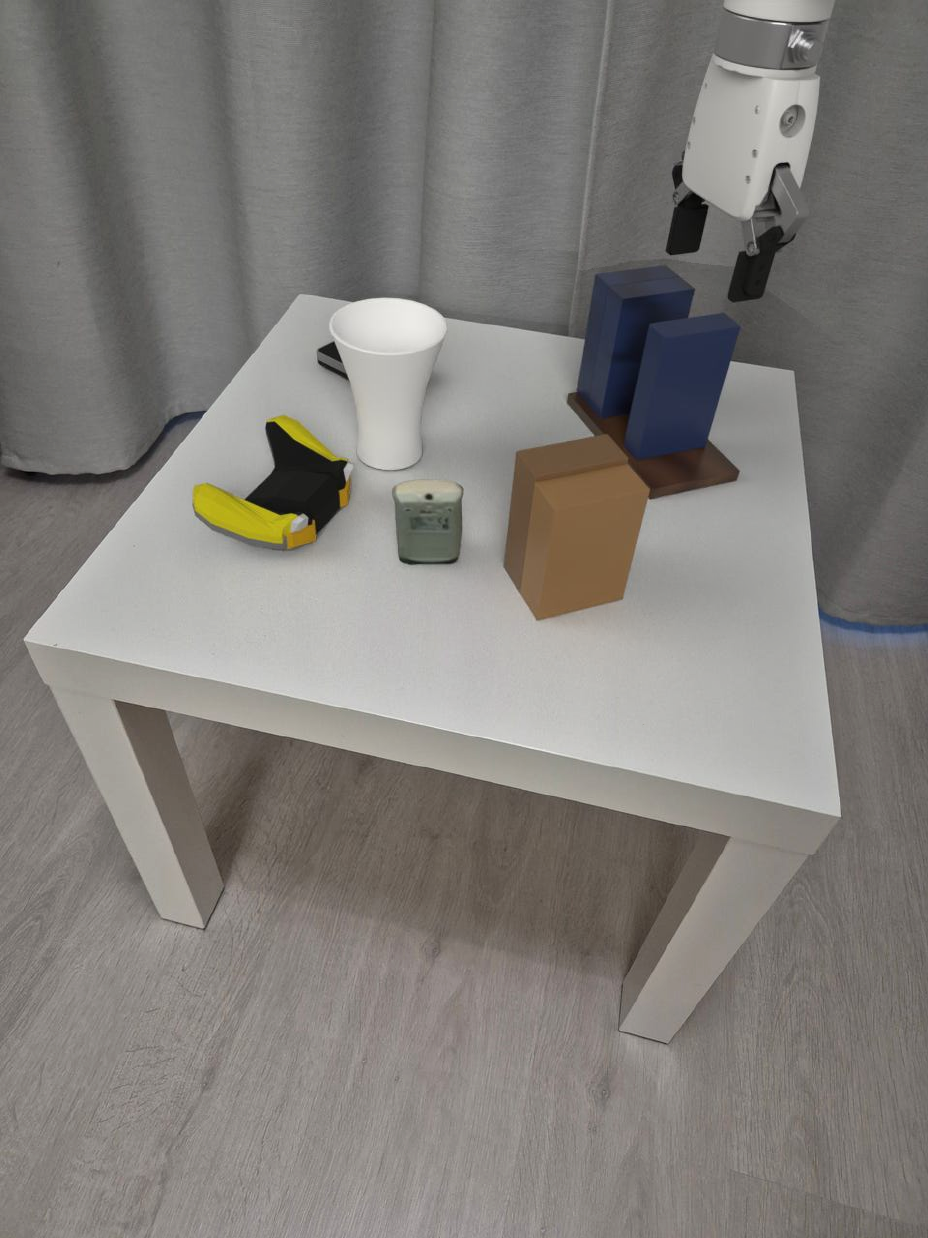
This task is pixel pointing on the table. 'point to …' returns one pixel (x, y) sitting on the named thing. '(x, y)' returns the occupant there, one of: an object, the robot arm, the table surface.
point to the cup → (388, 373)
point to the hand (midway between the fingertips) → (711, 274)
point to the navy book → (680, 384)
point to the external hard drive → (331, 359)
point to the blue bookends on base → (637, 373)
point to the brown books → (573, 525)
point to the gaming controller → (281, 493)
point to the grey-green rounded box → (428, 521)
